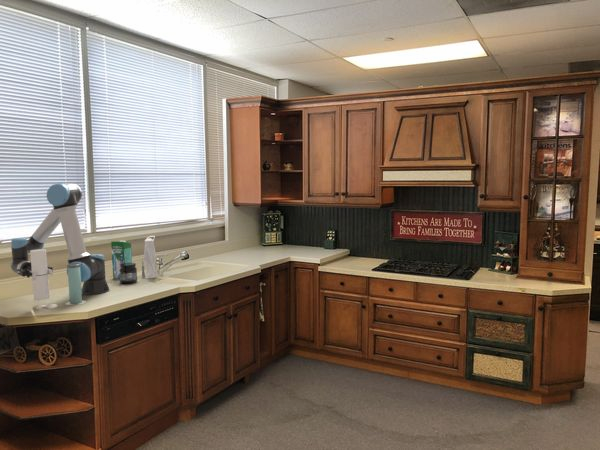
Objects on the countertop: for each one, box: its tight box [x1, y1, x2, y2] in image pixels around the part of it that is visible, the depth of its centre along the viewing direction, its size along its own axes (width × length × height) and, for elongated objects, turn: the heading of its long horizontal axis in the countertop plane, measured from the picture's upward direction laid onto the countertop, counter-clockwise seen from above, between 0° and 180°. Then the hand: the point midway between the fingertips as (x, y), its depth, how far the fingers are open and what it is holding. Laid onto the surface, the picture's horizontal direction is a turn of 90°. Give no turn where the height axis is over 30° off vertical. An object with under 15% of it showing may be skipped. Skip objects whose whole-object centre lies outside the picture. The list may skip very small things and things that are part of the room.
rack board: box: [36, 299, 87, 310], centre depth 254 cm, size 24×12×1 cm, turn 123°
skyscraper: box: [141, 235, 158, 280], centre depth 326 cm, size 8×8×28 cm
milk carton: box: [110, 240, 133, 280], centre depth 328 cm, size 9×9×25 cm
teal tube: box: [66, 264, 83, 305], centre depth 257 cm, size 6×6×20 cm
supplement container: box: [119, 262, 138, 285], centre depth 313 cm, size 10×10×12 cm
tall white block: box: [29, 248, 50, 301], centre depth 250 cm, size 7×7×25 cm
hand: (43, 273), depth 247 cm, fingers closed on tall white block, 7 cm apart
